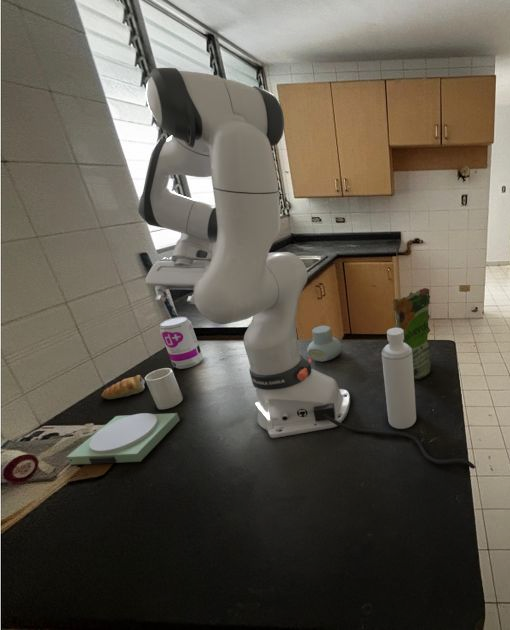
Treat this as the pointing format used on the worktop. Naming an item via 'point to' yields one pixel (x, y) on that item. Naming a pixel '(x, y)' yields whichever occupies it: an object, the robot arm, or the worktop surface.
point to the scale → (124, 439)
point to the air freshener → (323, 344)
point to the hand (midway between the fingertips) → (175, 302)
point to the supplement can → (181, 342)
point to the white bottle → (399, 380)
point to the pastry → (124, 388)
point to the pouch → (415, 328)
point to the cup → (164, 388)
